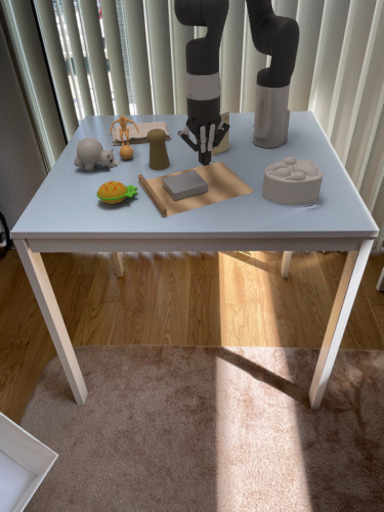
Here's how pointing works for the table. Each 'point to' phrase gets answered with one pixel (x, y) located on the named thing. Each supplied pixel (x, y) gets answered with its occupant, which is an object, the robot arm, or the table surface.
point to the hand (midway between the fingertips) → (204, 164)
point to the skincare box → (225, 141)
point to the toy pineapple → (115, 192)
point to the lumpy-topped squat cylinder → (292, 182)
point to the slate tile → (185, 185)
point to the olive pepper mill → (158, 150)
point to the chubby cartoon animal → (93, 155)
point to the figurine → (126, 150)
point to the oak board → (219, 189)
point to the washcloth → (137, 137)
